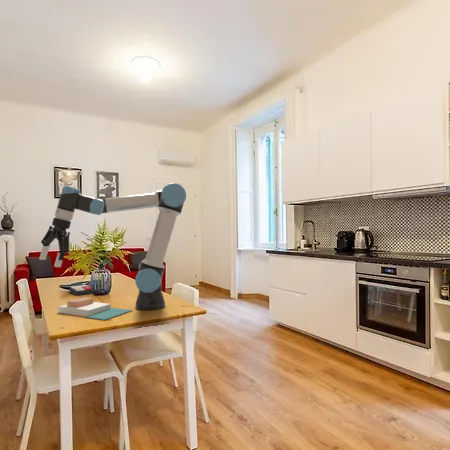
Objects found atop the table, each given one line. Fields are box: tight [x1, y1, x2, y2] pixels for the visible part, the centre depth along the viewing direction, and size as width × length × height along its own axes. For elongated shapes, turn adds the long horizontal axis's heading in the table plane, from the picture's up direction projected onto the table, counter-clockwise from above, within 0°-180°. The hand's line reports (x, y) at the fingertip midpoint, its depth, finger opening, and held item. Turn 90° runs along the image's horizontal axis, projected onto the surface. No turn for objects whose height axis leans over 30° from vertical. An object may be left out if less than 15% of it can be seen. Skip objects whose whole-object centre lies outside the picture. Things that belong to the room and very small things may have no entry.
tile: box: [66, 296, 94, 308], centre depth 165 cm, size 10×7×2 cm
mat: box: [84, 307, 133, 321], centre depth 157 cm, size 18×12×1 cm, turn 156°
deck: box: [58, 301, 112, 317], centre depth 163 cm, size 14×20×3 cm
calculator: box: [69, 284, 92, 296], centre depth 212 cm, size 11×4×15 cm
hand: (49, 263), depth 151 cm, fingers open, 13 cm apart
